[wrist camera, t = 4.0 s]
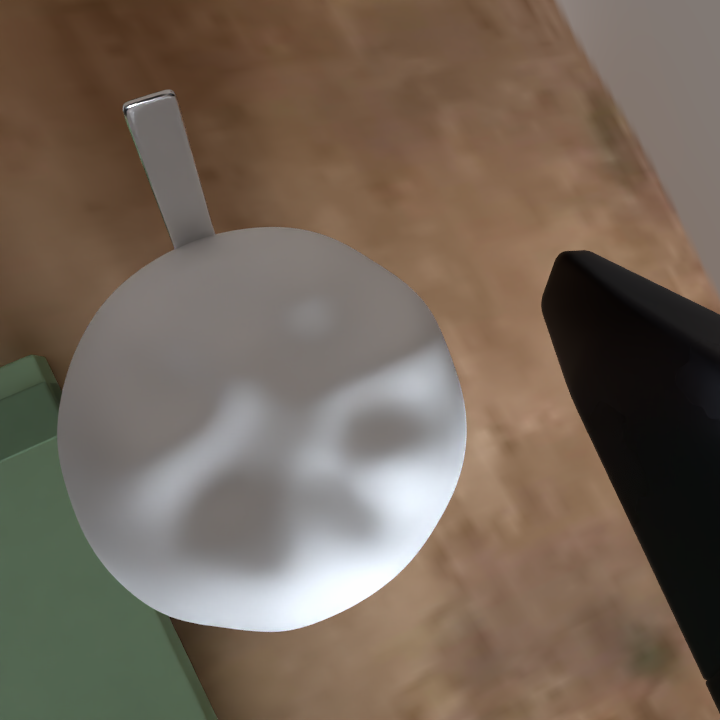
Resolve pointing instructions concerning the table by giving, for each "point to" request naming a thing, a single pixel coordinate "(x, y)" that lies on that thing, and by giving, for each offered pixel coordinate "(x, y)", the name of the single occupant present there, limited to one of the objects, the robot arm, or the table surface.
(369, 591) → the milkshake
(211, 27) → the table surface
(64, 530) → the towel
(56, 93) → the table surface
